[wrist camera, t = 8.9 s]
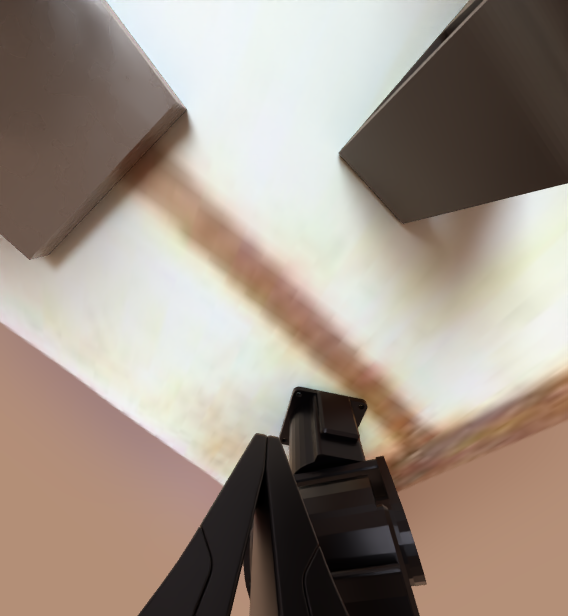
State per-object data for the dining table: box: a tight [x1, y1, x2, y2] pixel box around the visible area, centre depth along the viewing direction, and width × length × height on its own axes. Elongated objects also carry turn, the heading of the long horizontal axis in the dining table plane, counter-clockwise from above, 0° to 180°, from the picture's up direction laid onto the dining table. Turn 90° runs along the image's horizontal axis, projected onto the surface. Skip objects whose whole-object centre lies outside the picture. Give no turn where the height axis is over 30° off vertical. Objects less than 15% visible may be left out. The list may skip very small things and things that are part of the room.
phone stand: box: [339, 0, 568, 224], centre depth 10 cm, size 9×6×12 cm, turn 138°
